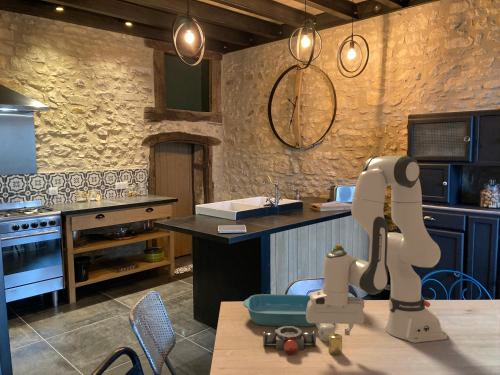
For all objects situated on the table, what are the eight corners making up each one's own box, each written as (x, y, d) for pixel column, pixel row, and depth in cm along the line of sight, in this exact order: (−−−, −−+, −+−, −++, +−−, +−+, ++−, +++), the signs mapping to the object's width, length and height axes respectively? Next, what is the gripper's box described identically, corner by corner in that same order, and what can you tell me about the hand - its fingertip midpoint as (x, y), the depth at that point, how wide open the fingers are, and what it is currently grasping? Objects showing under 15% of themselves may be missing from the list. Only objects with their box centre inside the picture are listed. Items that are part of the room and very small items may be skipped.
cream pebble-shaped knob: (332, 334, 157) (332, 322, 157) (336, 342, 151) (336, 329, 151) (317, 334, 157) (317, 322, 157) (320, 342, 151) (320, 329, 151)
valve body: (312, 338, 153) (312, 325, 153) (318, 355, 141) (318, 340, 141) (262, 339, 153) (262, 326, 153) (264, 355, 141) (264, 341, 141)
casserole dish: (324, 308, 183) (324, 293, 183) (333, 330, 161) (333, 313, 161) (244, 308, 185) (244, 293, 184) (241, 329, 163) (241, 312, 162)
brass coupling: (340, 349, 145) (340, 333, 145) (343, 355, 141) (343, 339, 140) (327, 349, 145) (327, 333, 145) (330, 356, 141) (330, 339, 140)
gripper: (362, 294, 144) (360, 331, 145) (305, 293, 144) (304, 330, 145) (367, 300, 138) (365, 339, 139) (308, 299, 138) (307, 338, 139)
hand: (333, 334), depth 142 cm, fingers open, 8 cm apart
